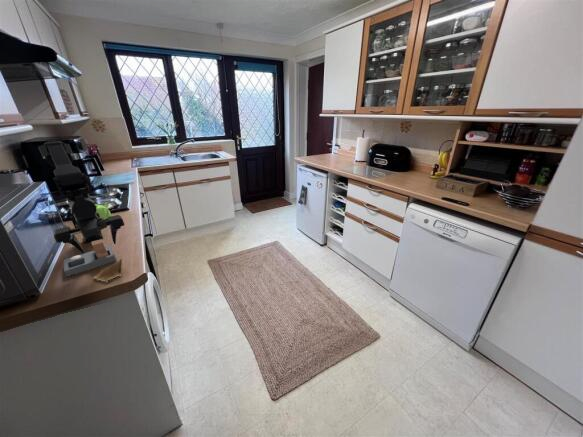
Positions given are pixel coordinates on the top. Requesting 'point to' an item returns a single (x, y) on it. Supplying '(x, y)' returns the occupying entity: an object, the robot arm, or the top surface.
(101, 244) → the brown wooden block
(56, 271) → the top surface
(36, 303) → the top surface
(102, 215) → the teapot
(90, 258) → the board
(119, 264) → the shard
